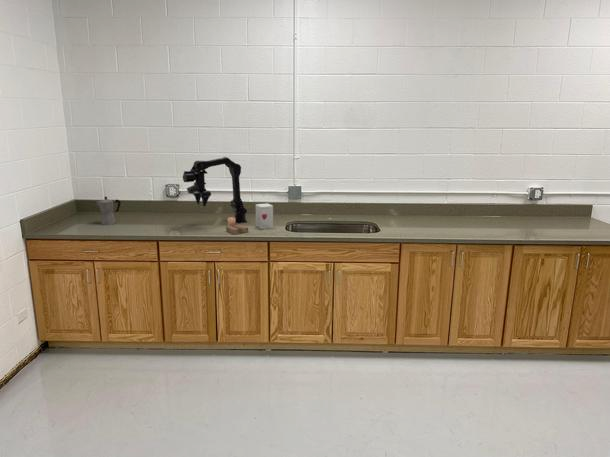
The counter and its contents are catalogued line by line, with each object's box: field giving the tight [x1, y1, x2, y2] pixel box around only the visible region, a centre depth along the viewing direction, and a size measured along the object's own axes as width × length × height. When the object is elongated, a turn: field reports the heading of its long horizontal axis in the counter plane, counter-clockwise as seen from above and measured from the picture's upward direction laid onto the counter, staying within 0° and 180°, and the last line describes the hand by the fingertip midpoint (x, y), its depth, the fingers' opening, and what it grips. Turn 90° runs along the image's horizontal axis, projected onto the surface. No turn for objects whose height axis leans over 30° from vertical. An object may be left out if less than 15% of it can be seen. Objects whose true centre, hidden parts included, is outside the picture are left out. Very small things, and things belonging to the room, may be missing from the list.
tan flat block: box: [225, 224, 249, 235], centre depth 289 cm, size 10×10×3 cm
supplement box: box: [255, 203, 274, 230], centre depth 299 cm, size 9×9×15 cm
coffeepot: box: [95, 196, 122, 226], centre depth 305 cm, size 15×9×18 cm, turn 113°
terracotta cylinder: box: [227, 216, 237, 226], centre depth 301 cm, size 5×5×6 cm
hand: (201, 205), depth 296 cm, fingers open, 9 cm apart
